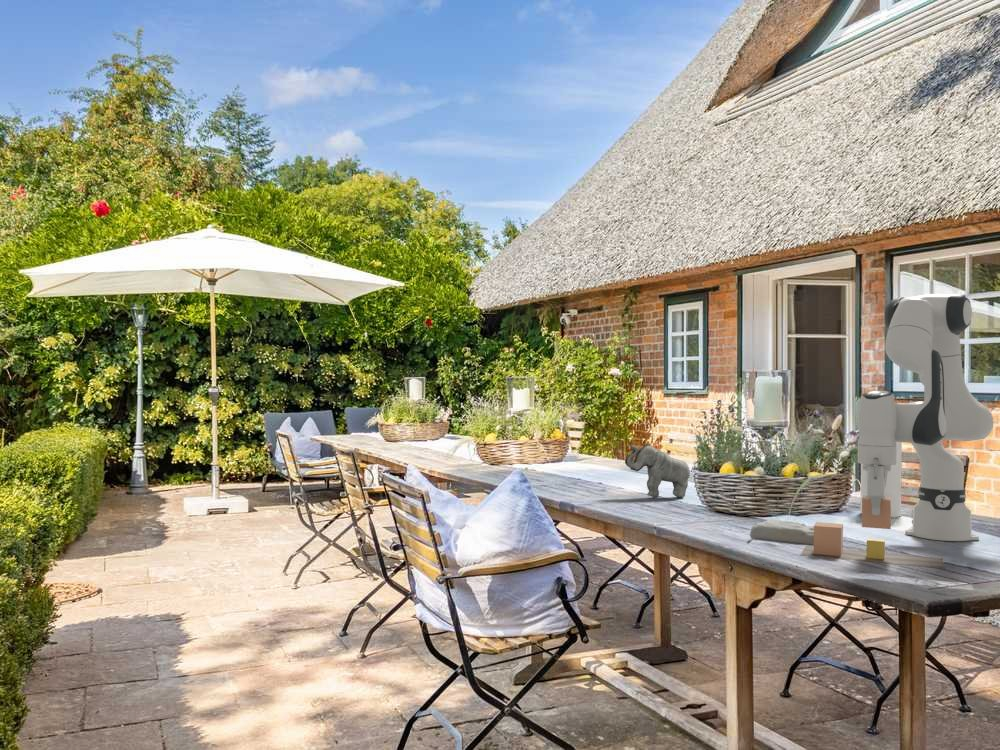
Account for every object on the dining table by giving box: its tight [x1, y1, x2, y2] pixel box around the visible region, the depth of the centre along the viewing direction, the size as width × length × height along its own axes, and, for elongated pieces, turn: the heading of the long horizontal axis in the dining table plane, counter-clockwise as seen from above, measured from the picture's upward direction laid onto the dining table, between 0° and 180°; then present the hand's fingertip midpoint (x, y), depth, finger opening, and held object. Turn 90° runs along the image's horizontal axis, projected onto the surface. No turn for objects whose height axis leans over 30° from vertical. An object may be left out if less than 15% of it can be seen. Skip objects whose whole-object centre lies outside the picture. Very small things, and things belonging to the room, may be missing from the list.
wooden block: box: [861, 495, 892, 530], centre depth 212 cm, size 6×6×7 cm
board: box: [800, 545, 945, 570], centre depth 212 cm, size 13×32×1 cm, turn 65°
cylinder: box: [859, 442, 903, 518], centre depth 288 cm, size 12×12×25 cm
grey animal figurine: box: [624, 444, 691, 499], centre depth 322 cm, size 25×9×20 cm, turn 100°
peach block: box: [813, 521, 844, 556], centre depth 217 cm, size 6×6×7 cm
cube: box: [866, 538, 886, 559], centre depth 212 cm, size 4×4×4 cm
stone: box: [749, 518, 814, 545], centre depth 238 cm, size 21×15×5 cm
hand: (876, 512), depth 212 cm, fingers closed on wooden block, 6 cm apart
